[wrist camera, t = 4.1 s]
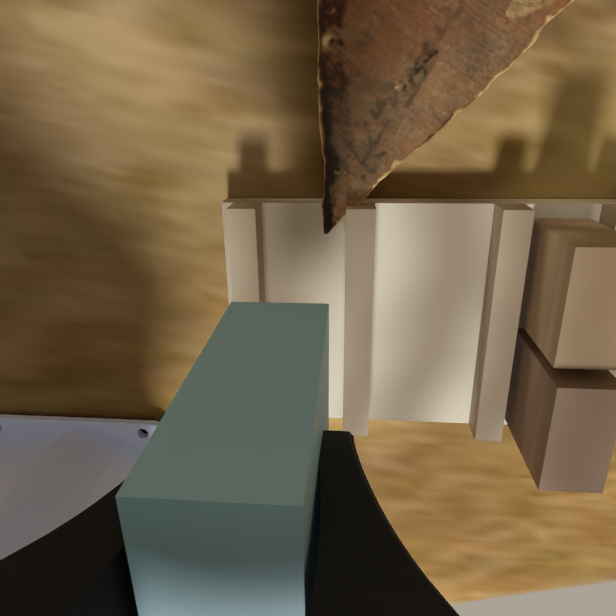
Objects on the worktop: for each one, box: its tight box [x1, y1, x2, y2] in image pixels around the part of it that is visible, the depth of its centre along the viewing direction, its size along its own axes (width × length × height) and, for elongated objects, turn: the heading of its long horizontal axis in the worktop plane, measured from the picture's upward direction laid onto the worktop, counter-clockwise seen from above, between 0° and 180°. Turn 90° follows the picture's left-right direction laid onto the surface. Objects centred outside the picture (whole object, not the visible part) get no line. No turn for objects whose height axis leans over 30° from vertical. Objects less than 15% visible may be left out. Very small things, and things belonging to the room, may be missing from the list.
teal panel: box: [115, 302, 329, 616], centre depth 11 cm, size 2×7×7 cm, turn 1°
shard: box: [317, 0, 574, 234], centre depth 17 cm, size 11×8×2 cm
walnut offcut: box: [505, 328, 616, 493], centre depth 18 cm, size 2×4×4 cm, turn 1°
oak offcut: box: [519, 218, 616, 370], centre depth 17 cm, size 2×4×4 cm, turn 1°
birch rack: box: [222, 198, 616, 442], centre depth 20 cm, size 15×9×2 cm, turn 91°
